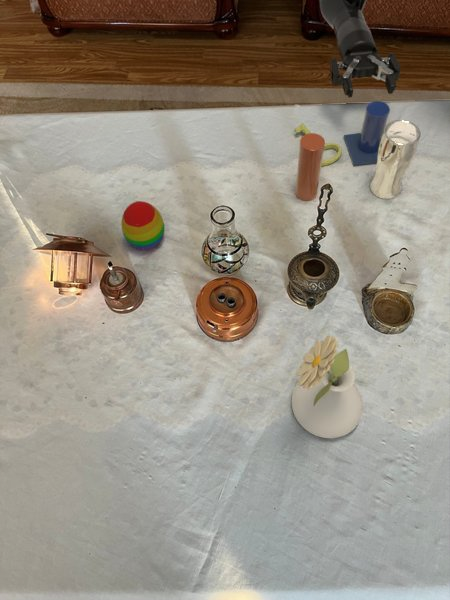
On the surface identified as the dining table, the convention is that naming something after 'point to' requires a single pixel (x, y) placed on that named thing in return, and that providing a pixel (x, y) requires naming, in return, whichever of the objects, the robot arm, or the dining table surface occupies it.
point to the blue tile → (358, 151)
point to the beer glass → (394, 157)
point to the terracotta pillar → (309, 166)
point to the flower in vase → (327, 392)
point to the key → (326, 146)
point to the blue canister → (373, 126)
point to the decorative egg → (142, 225)
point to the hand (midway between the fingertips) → (371, 92)
